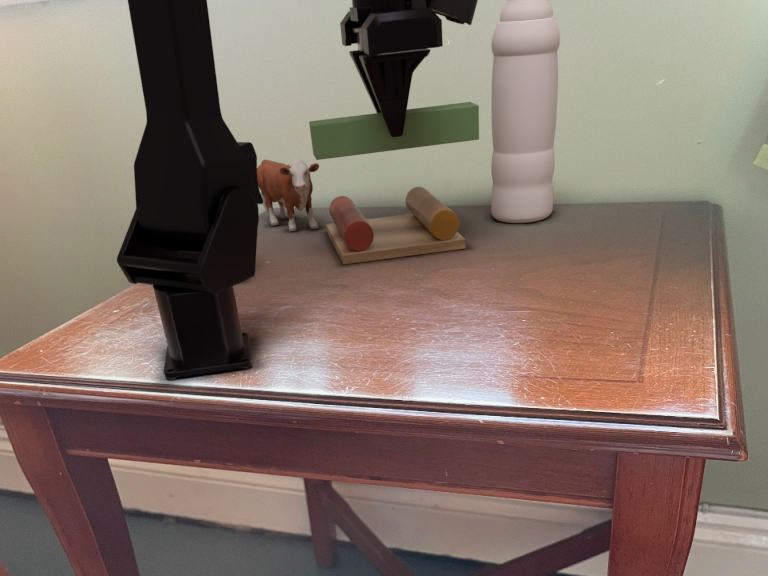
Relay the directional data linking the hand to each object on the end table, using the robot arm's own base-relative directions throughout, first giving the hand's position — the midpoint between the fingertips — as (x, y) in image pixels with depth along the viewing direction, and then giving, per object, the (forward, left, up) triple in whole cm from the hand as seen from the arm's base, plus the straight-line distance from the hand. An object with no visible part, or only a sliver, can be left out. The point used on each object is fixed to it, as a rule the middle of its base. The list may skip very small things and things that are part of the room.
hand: (393, 134), depth 74 cm
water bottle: (+9, -16, -12) cm, 22 cm away
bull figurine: (+18, +10, -12) cm, 23 cm away
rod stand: (+6, 0, -11) cm, 13 cm away
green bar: (0, 0, -1) cm, 1 cm away
